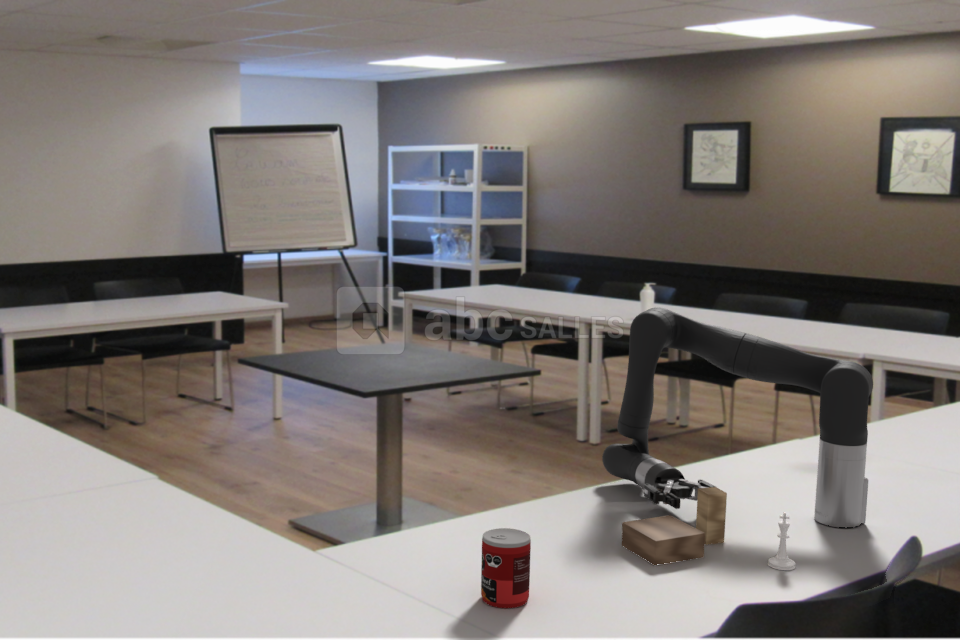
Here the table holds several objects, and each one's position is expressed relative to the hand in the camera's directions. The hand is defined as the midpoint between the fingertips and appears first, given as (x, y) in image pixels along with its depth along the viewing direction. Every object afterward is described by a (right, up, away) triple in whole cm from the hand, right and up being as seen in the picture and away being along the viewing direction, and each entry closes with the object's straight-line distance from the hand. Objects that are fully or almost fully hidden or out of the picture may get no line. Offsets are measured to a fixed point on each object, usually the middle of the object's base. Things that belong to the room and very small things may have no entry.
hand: (697, 502), depth 198 cm
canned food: (-39, -10, -34) cm, 53 cm away
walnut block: (-9, -8, -11) cm, 16 cm away
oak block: (+1, -7, -4) cm, 8 cm away
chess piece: (+12, -9, -16) cm, 22 cm away
